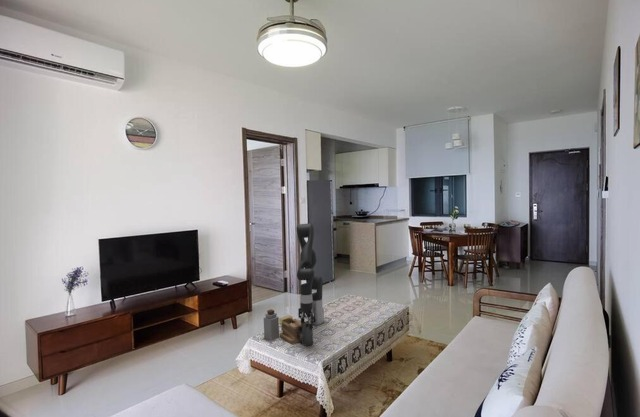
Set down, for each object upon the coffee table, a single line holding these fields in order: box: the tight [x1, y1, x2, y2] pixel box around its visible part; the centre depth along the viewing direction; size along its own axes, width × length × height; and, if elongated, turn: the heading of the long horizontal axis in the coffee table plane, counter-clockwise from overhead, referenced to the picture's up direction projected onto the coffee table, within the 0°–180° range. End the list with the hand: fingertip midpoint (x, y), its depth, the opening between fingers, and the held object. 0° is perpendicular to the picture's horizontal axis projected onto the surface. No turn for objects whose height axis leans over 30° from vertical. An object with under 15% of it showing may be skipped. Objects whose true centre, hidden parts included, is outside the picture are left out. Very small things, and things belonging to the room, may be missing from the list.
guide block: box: [279, 318, 302, 345], centre depth 226 cm, size 14×14×10 cm
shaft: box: [280, 320, 314, 347], centre depth 225 cm, size 5×28×14 cm, turn 39°
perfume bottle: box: [263, 308, 280, 342], centre depth 227 cm, size 7×7×18 cm
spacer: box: [279, 315, 294, 326], centre depth 233 cm, size 8×4×4 cm, turn 129°
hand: (307, 327), depth 215 cm, fingers open, 8 cm apart
